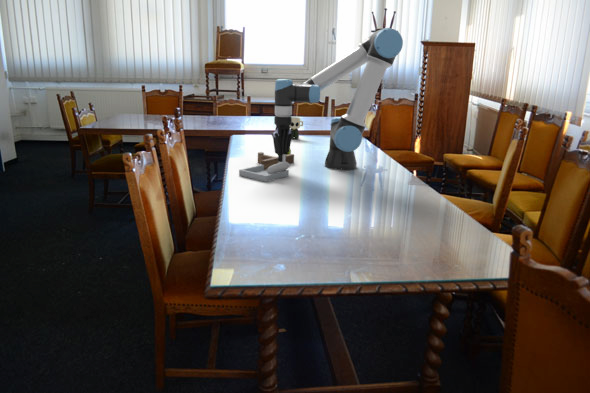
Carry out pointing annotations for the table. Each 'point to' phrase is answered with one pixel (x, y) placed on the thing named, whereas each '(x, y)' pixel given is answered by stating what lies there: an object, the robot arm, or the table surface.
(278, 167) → the donut
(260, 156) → the t rack
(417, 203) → the table surface
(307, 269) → the table surface
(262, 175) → the tray
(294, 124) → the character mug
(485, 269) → the table surface
